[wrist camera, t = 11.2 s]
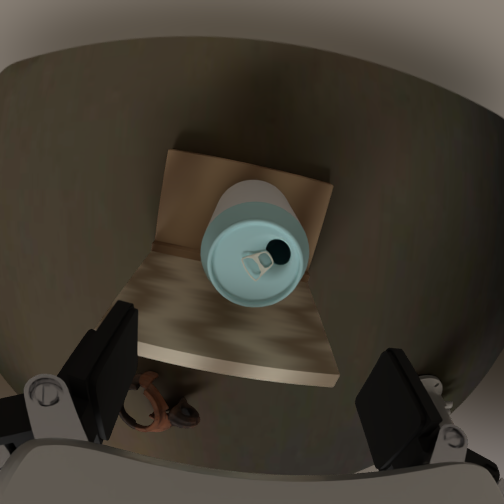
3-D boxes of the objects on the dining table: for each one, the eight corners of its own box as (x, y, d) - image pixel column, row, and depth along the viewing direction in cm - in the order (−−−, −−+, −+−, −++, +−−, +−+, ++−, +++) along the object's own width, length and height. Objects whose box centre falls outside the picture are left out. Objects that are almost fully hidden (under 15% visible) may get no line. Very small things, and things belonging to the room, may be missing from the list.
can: (232, 167, 28) (221, 189, 17) (301, 196, 29) (334, 236, 18) (205, 234, 30) (181, 293, 19) (271, 259, 31) (283, 330, 20)
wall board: (329, 183, 30) (402, 232, 15) (300, 281, 34) (333, 387, 19) (172, 148, 28) (97, 166, 13) (156, 252, 32) (95, 343, 17)
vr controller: (141, 410, 43) (111, 427, 35) (141, 358, 44) (109, 368, 36) (208, 430, 40) (186, 454, 32) (212, 374, 41) (188, 392, 33)
